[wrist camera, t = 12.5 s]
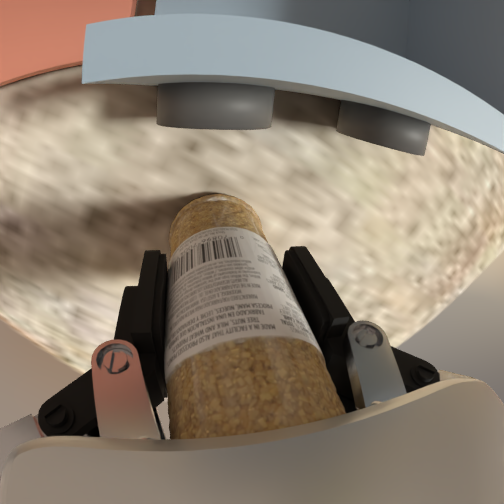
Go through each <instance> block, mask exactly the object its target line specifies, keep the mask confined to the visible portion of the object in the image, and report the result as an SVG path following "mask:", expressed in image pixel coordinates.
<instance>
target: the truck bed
mask: <svg viewBox="0 0 504 504" xmlns="http://www.w3.org/2000/svg"><path fill="white" fill-rule="evenodd" d="M82 84H131V85H148V86H158V93H157V124H158V125H161V126H166V127H175V128H190V129H219V130H254V129H266V128H270V127H271V121H272V112H273V103H274V93H275V90H283V91H290V92H297V93H304V94H310V95H316V96H322V97H327V98H332V99H337V100H341V103H340V110H339V117H338V124H337V132H339V133H342V134H344V135H347V136H350V137H353V138H356V139H360V140H363V141H366V142H370V143H373V144H377V145H380V146H384V147H387V148H391V149H395V150H398V151H402V152H406V153H410V154H415V155H421V156H423V155H424V154H425V150H426V145H427V140H428V135H429V130H430V125H433V126H436V127H439V128H442V129H445V130H448V131H451V132H453V133H456V134H459V135H461V136H464V137H466V138H469V139H471V140H474V141H476V142H479V143H481V144H483V145H486V146H488V147H490V148H492V149H495V150H497V151H499V152H501V153H503V154H504V0H157V1H156V8H155V15H148V16H137V17H128V18H120V19H114V20H107V21H101V22H96V23H91V24H86V31H85V41H84V52H83V66H82Z"/></svg>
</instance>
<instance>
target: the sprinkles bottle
mask: <svg viewBox="0 0 504 504" xmlns="http://www.w3.org/2000/svg"><path fill="white" fill-rule="evenodd" d="M169 244H170V248H171V254H170V262H169V265H168V276H167V291H166V311H165V352H164V370H165V381H166V387H167V394H168V414H169V419H170V423H169V430H170V439H197V438H212V437H224V436H233V435H242V434H250V433H257V432H264V431H270V430H276V429H282V428H287V427H292V426H297V425H302V424H307V423H311V422H315V421H320V420H324V419H328V418H332V417H335V416H339V415H343V414H346V412H345V408H344V406H343V404H342V402H341V400H340V398H339V396H338V394H337V391H336V387H335V385H334V383H333V382H332V380H331V376H330V374H329V372H328V370H327V368H326V363H325V359H324V356H323V354H322V351H321V349H320V347H319V345H318V343H317V341H316V339H315V336H314V334H313V332H312V330H311V328H310V326H309V324H308V322H307V320H306V318H305V316H304V313H303V311H302V309H301V307H300V305H299V303H298V301H297V298H296V296H295V294H294V292H293V290H292V288H291V286H290V283H289V281H288V279H287V277H286V275H285V273H284V271H283V269H282V267H281V265H280V263H279V261H278V259H277V256H276V254H275V252H274V251H273V249H272V247H271V246H270V245H269V244H268V242H267V240H266V237H265V235H264V233H263V231H262V225H261V222H260V219H259V217H258V215H257V214H256V212H255V211H254V210H253V208H252V207H251V206H250V205H248V204H247V203H245V202H244V201H243V200H241V199H238V198H236V197H233V196H228V195H224V194H213V195H207V196H203V197H201V198H198V199H195V200H193V201H191V202H190V203H189V204H187V205H186V206H184V207H183V208H182V209H181V210H180V211H179V213H178V214H177V216H176V217H175V219H174V221H173V222H172V225H171V229H170V233H169Z"/></svg>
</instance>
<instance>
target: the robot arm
mask: <svg viewBox="0 0 504 504" xmlns="http://www.w3.org/2000/svg"><path fill="white" fill-rule="evenodd" d="M282 269H283V271H284V273H285V275H286V277H287V279H288V281H289V283H290V286H291V288H292V290H293V292H294V294H295V296H296V298H297V301H298V303H299V305H300V307H301V309H302V311H303V313H304V316H305V318H306V320H307V322H308V324H309V326H310V328H311V330H312V332H313V334H314V336H315V339H316V341H317V343H318V345H319V347H320V349H321V351H322V354H323V356H324V359H325V363H326V368H327V370H328V372H329V374H330V376H331V380H332V382H333V383H334V385H335V387H336V391H337V394H338V396H339V398H340V400H341V402H342V404H343V406H344V408H345V412H346V414H343V415H339V416H335V417H332V418H328V419H324V420H320V421H315V422H311V423H307V424H302V425H297V426H292V427H287V428H282V429H276V430H270V431H264V432H257V433H250V434H242V435H233V436H224V437H212V438H197V439H169V440H168V439H166V436H165V433H164V429H163V426H162V423H161V420H160V416H159V413H158V409H157V406H158V405H159V404H160V403H162V402H163V401H164V398H167V387H166V381H165V370H164V352H165V311H166V291H167V276H168V272H167V261H166V254H161V253H160V250H150V251H145V253H144V258H143V263H142V268H141V273H140V278H139V283H138V286H126V287H125V289H124V293H123V297H122V302H121V306H120V311H119V316H118V321H117V326H116V331H115V336H114V340H110V341H106V342H104V343H102V344H101V345H99V346H98V347H97V348H96V349H95V351H94V353H93V355H92V360H91V365H92V369H90V370H89V371H87V372H86V373H85V374H83V375H82V376H80V377H79V378H78V379H77V380H75V381H73V382H72V383H71V384H69V385H68V386H66V387H65V388H64V389H62V390H61V391H59V392H58V393H57V394H55V395H54V396H53V397H51V398H50V399H48V400H47V401H46V402H45V403H44V404H43V405H42V406H41V408H40V410H39V414H38V415H36V416H33V415H32V414H30V415H28V416H26V417H24V418H21V419H20V420H17V421H15V422H13V423H11V424H9V425H7V426H4V427H2V428H0V504H504V404H503V403H502V401H501V400H500V398H499V397H498V396H497V394H496V393H495V392H494V391H493V390H492V389H491V387H489V385H488V384H486V383H485V382H483V381H481V380H477V379H475V378H472V377H468V376H464V375H459V374H455V373H451V372H447V371H443V370H439V371H438V372H437V370H436V369H435V367H434V366H433V365H431V364H430V363H428V362H427V361H424V360H422V359H420V358H417V357H415V356H413V355H410V354H408V353H406V352H403V351H401V350H398V349H396V348H394V347H392V346H390V343H389V341H388V338H387V336H386V334H385V332H384V331H383V330H382V329H381V328H380V327H379V326H378V325H376V324H374V323H372V322H369V321H357V322H355V321H354V319H353V318H352V316H351V315H350V313H349V311H348V310H347V308H346V306H345V305H344V303H343V302H342V300H341V298H340V297H339V295H338V294H337V292H336V290H335V289H334V287H333V286H332V284H331V283H330V281H329V280H328V279H327V278H326V277H325V276H324V274H323V272H322V271H321V269H320V268H319V266H318V265H317V263H316V262H315V260H314V258H313V257H312V255H311V254H310V252H309V251H308V249H307V248H306V247H305V246H295V247H290V249H289V250H286V251H285V254H284V260H283V266H282Z"/></svg>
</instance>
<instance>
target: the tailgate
mask: <svg viewBox="0 0 504 504" xmlns="http://www.w3.org/2000/svg"><path fill="white" fill-rule="evenodd" d="M136 3H137V0H0V86H3V85H6V84H8V83H11V82H14V81H17V80H21V79H24V78H27V77H31V76H34V75H38V74H42V73H45V72H49V71H54V70H58V69H62V68H67V67H72V66H77V65H82V64H83V52H84V41H85V31H86V24H91V23H96V22H101V21H107V20H114V19H120V18H128V17H135V10H136Z"/></svg>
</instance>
